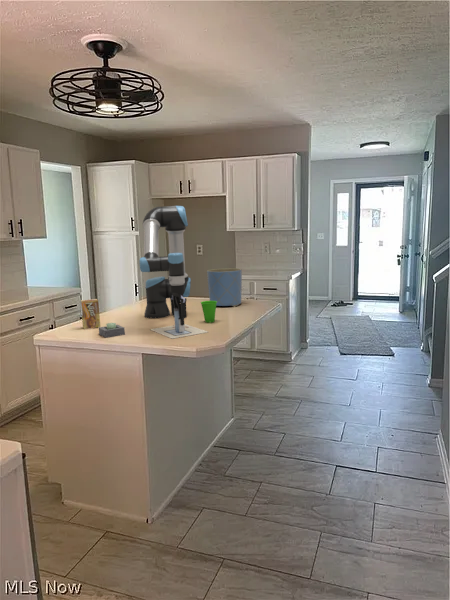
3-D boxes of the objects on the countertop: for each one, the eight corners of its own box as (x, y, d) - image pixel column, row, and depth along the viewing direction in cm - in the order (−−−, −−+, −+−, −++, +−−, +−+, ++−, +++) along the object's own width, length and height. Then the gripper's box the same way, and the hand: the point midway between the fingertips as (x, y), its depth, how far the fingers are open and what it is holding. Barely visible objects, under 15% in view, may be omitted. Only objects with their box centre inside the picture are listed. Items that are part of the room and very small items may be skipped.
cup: (215, 323, 248) (215, 303, 246) (199, 323, 250) (198, 303, 248) (219, 319, 257) (218, 300, 255) (203, 319, 258) (202, 300, 257)
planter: (205, 308, 296) (203, 272, 292) (212, 302, 318) (210, 268, 314) (240, 307, 292) (239, 271, 288) (244, 301, 314) (243, 267, 310)
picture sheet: (149, 329, 238) (149, 329, 238) (183, 324, 249) (183, 323, 249) (172, 338, 217) (172, 338, 217) (208, 332, 227) (208, 331, 227)
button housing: (99, 334, 233) (98, 327, 233) (118, 331, 238) (117, 324, 238) (105, 337, 225) (104, 330, 224) (125, 334, 230) (124, 327, 230)
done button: (105, 331, 232) (105, 323, 231) (114, 330, 235) (113, 322, 234) (108, 332, 228) (108, 325, 228) (117, 331, 231) (117, 323, 230)
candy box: (99, 325, 254) (96, 298, 251) (100, 327, 250) (98, 299, 248) (82, 328, 250) (80, 300, 248) (84, 329, 246) (81, 301, 244)
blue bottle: (173, 331, 230) (172, 308, 228) (181, 330, 232) (180, 307, 230) (177, 333, 226) (176, 309, 224) (185, 331, 228) (184, 308, 227)
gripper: (162, 283, 231) (165, 329, 234) (178, 286, 217) (181, 334, 220) (176, 282, 235) (178, 326, 238) (192, 285, 221) (194, 332, 224)
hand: (179, 330), depth 229 cm, fingers open, 4 cm apart
